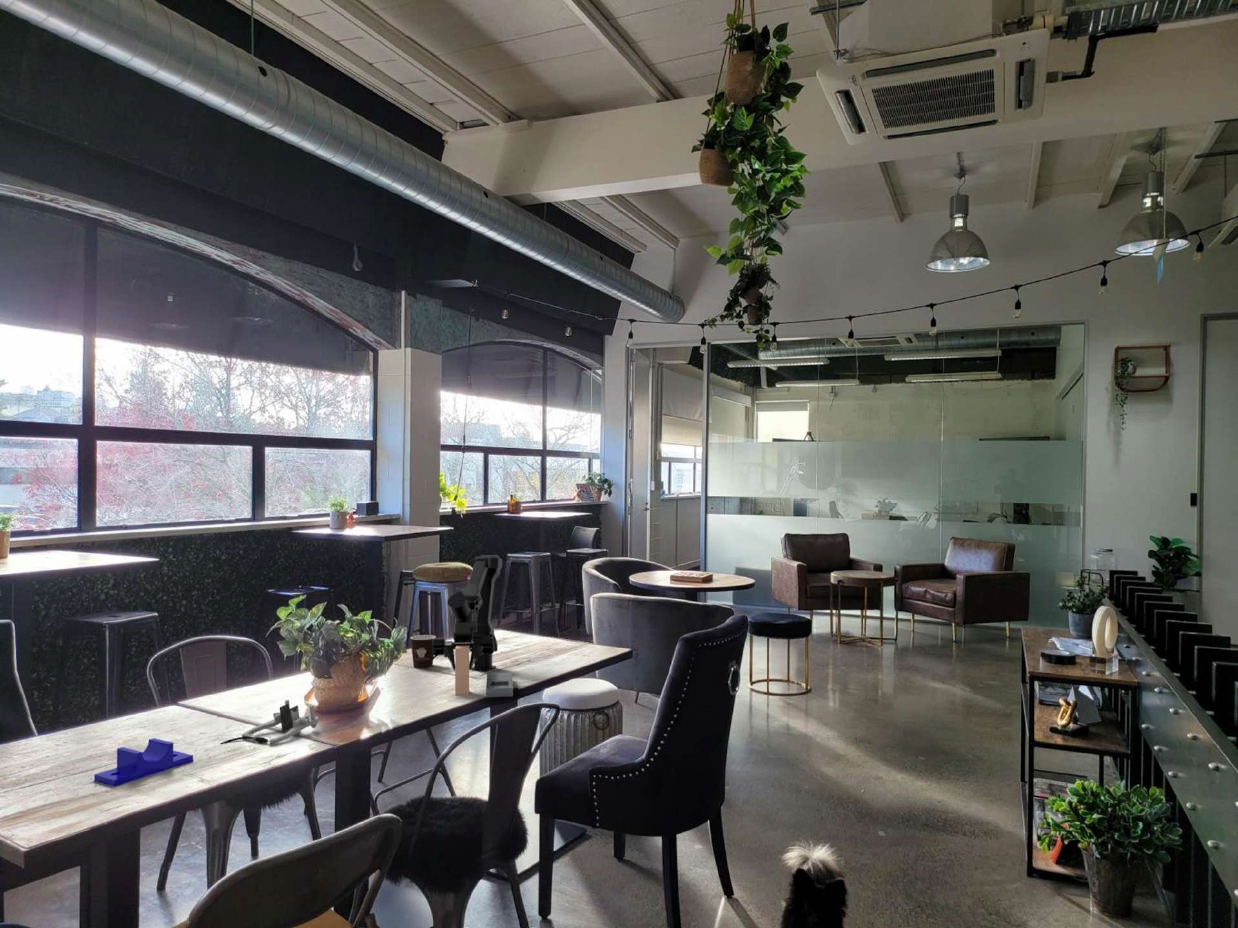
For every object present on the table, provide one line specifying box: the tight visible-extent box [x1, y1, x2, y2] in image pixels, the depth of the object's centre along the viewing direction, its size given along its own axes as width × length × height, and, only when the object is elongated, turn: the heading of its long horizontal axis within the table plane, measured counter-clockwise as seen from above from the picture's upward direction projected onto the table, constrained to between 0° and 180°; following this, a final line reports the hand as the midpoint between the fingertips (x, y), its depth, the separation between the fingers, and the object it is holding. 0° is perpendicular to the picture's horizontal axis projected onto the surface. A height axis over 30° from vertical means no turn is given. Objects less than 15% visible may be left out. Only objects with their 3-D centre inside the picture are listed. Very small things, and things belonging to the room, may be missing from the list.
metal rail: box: [485, 672, 514, 698], centre depth 258 cm, size 20×8×2 cm, turn 8°
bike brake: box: [220, 699, 320, 746], centre depth 209 cm, size 14×7×20 cm
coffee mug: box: [410, 634, 439, 669], centre depth 288 cm, size 12×9×10 cm
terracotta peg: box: [454, 646, 470, 696], centre depth 253 cm, size 4×4×14 cm
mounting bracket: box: [93, 737, 194, 788], centre depth 185 cm, size 18×7×6 cm, turn 152°
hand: (462, 669), depth 251 cm, fingers open, 4 cm apart
